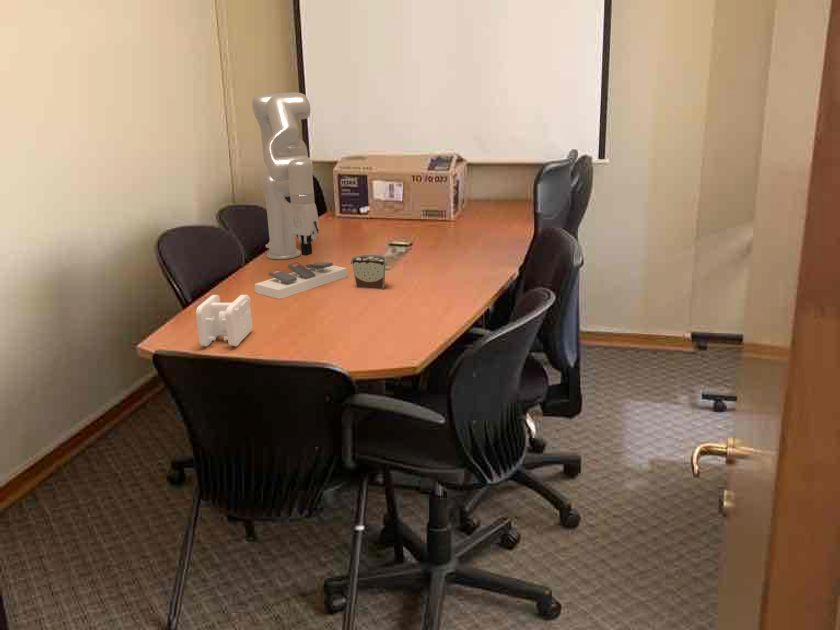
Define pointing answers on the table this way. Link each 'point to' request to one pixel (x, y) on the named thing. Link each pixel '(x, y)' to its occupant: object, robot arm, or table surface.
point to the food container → (369, 271)
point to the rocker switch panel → (300, 282)
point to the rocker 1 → (282, 276)
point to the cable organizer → (224, 320)
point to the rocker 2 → (301, 270)
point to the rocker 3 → (319, 265)
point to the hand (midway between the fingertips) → (306, 254)
